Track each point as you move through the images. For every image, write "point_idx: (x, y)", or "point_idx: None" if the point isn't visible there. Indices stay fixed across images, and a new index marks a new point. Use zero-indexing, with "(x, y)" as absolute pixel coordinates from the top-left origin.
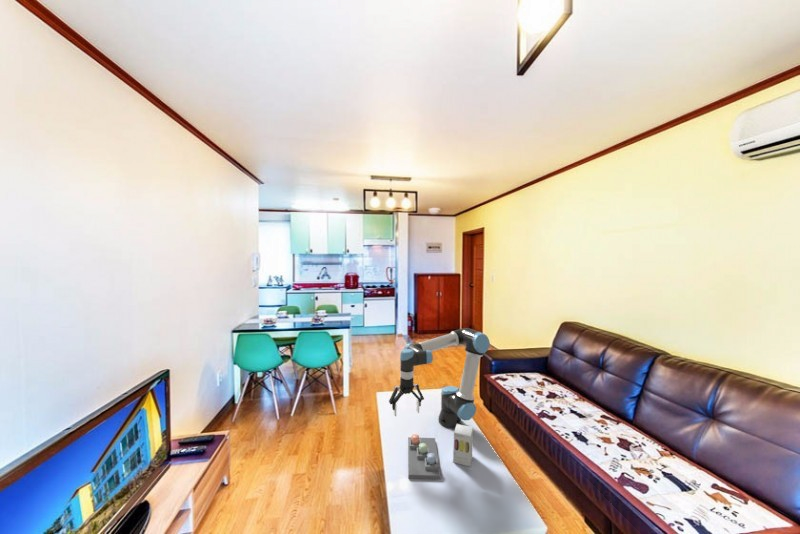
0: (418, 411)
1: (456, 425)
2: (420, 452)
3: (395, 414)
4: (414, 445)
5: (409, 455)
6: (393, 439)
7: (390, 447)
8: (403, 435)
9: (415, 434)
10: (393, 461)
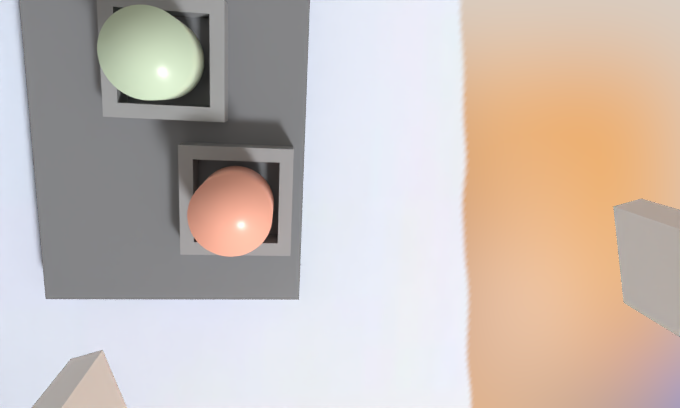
0: (74, 375)
1: None
2: (186, 26)
3: (668, 209)
4: (245, 151)
5: (297, 52)
6: (418, 298)
7: (446, 201)
8: (334, 349)
9: (226, 248)
10: (430, 29)
